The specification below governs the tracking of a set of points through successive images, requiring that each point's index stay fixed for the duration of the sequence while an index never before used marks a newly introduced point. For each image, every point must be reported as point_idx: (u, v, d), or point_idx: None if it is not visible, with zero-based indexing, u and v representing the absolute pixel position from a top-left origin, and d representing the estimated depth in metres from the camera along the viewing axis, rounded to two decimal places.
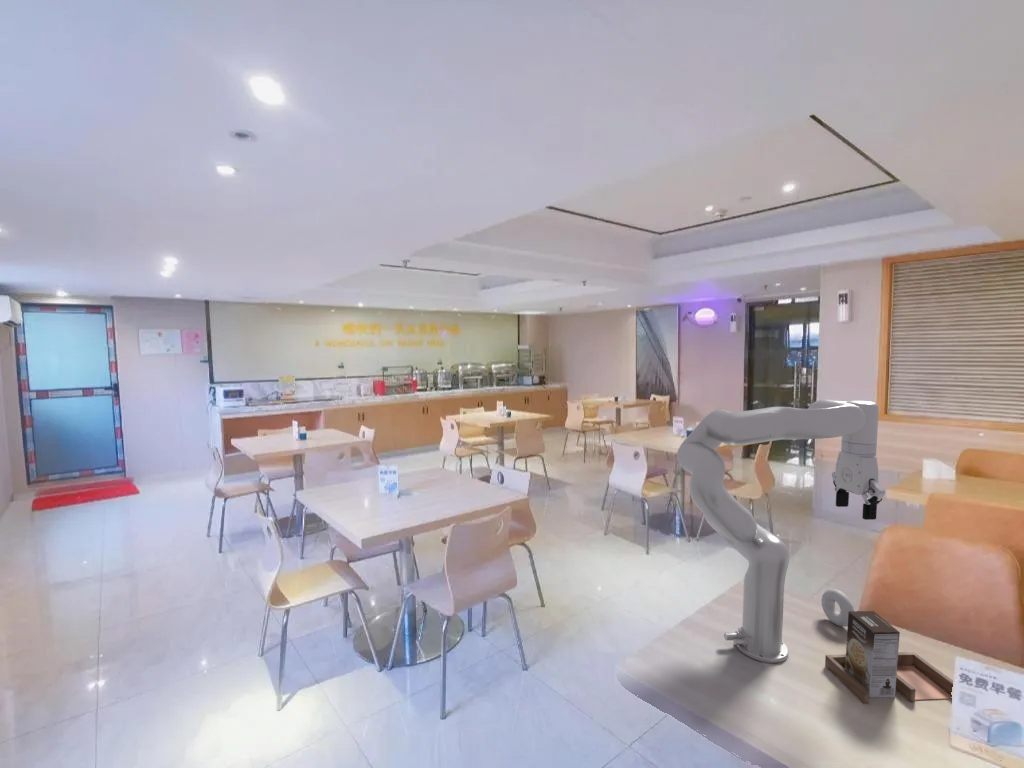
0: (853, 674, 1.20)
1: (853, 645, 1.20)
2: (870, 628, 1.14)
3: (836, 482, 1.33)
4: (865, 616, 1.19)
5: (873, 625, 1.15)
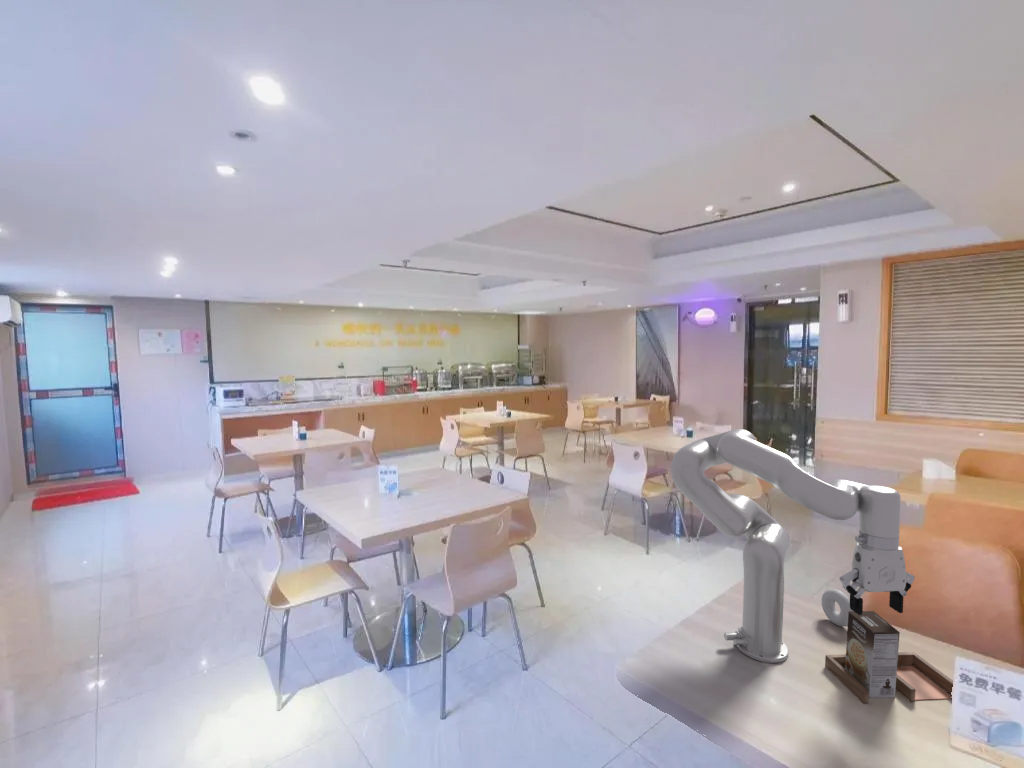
0: (853, 674, 1.20)
1: (853, 645, 1.20)
2: (870, 628, 1.14)
3: (870, 588, 1.13)
4: (865, 616, 1.19)
5: (872, 625, 1.15)
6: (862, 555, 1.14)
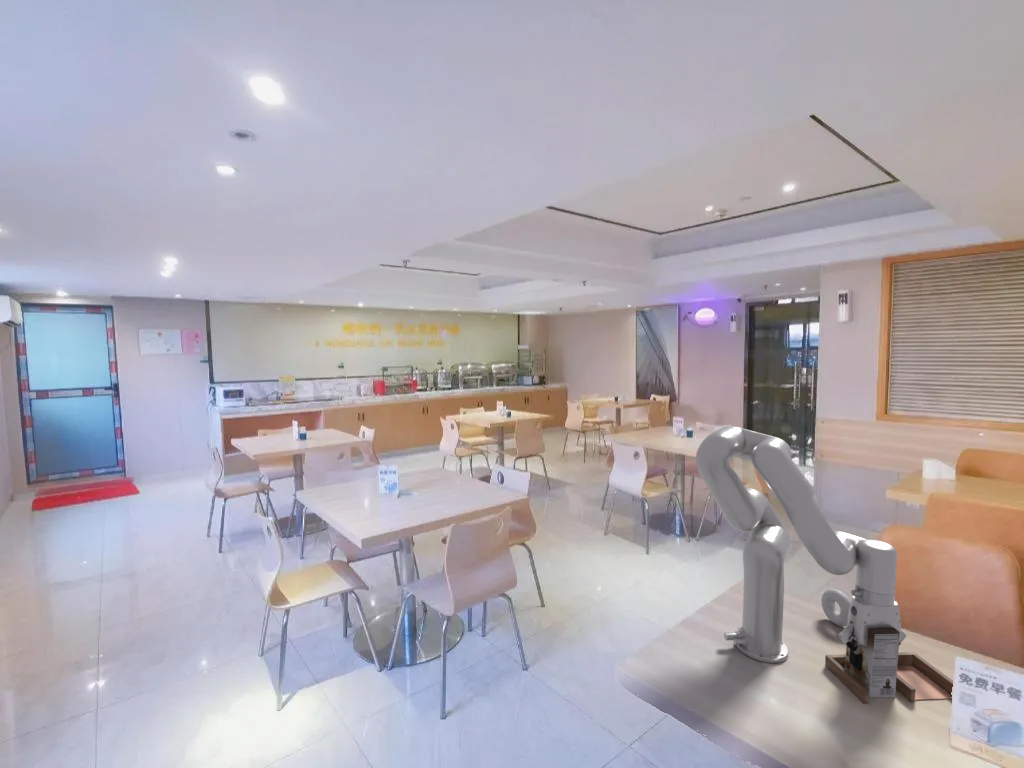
0: (853, 674, 1.20)
1: None
2: (870, 628, 1.14)
3: (865, 642, 1.15)
4: None
5: None
6: (858, 609, 1.15)
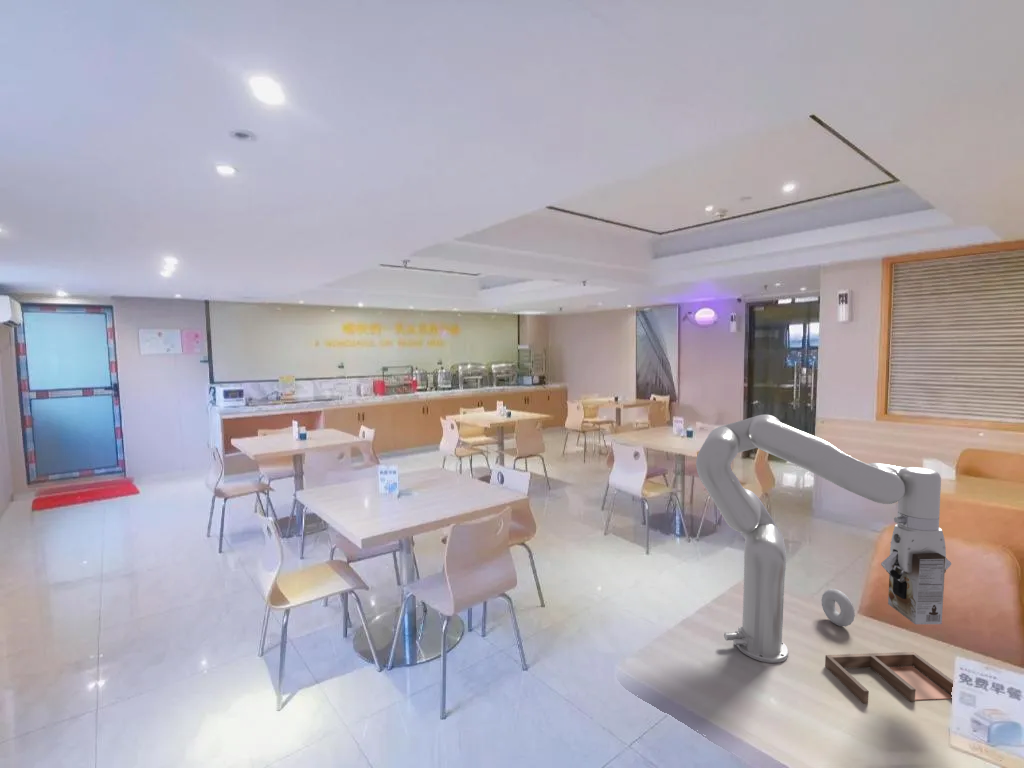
0: (897, 604, 1.18)
1: None
2: (915, 554, 1.13)
3: (910, 569, 1.13)
4: None
5: None
6: (901, 536, 1.14)
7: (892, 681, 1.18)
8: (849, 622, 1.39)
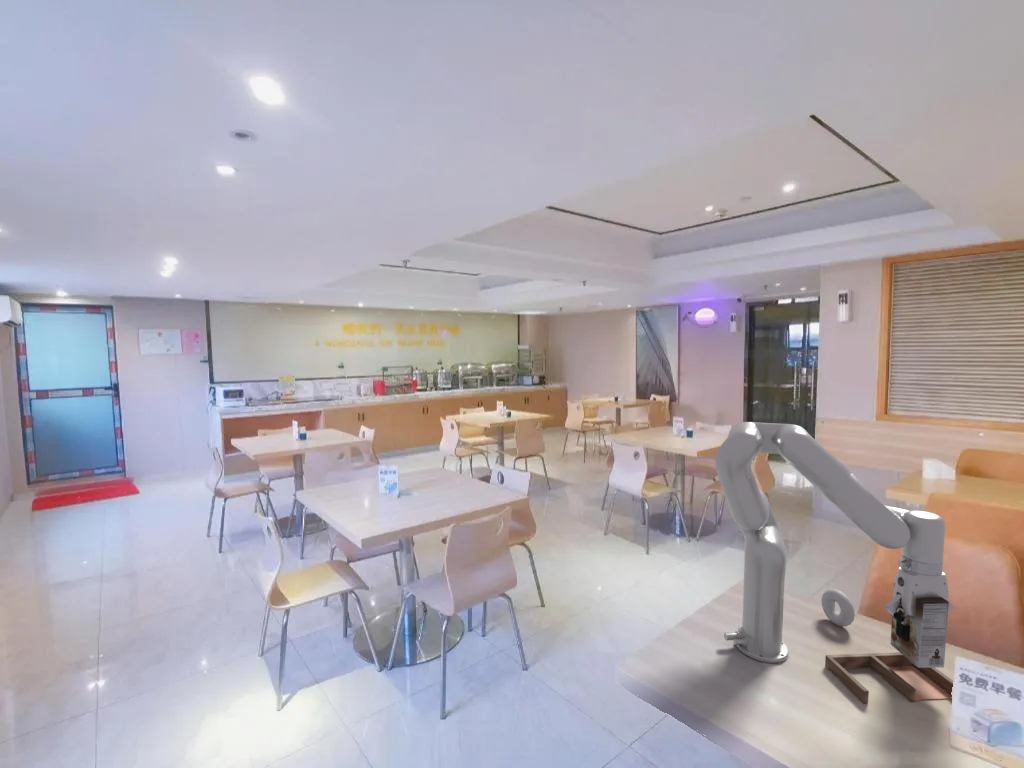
0: (900, 646, 1.19)
1: None
2: (918, 598, 1.14)
3: (913, 612, 1.14)
4: None
5: None
6: (905, 580, 1.15)
7: (892, 681, 1.18)
8: (849, 622, 1.39)
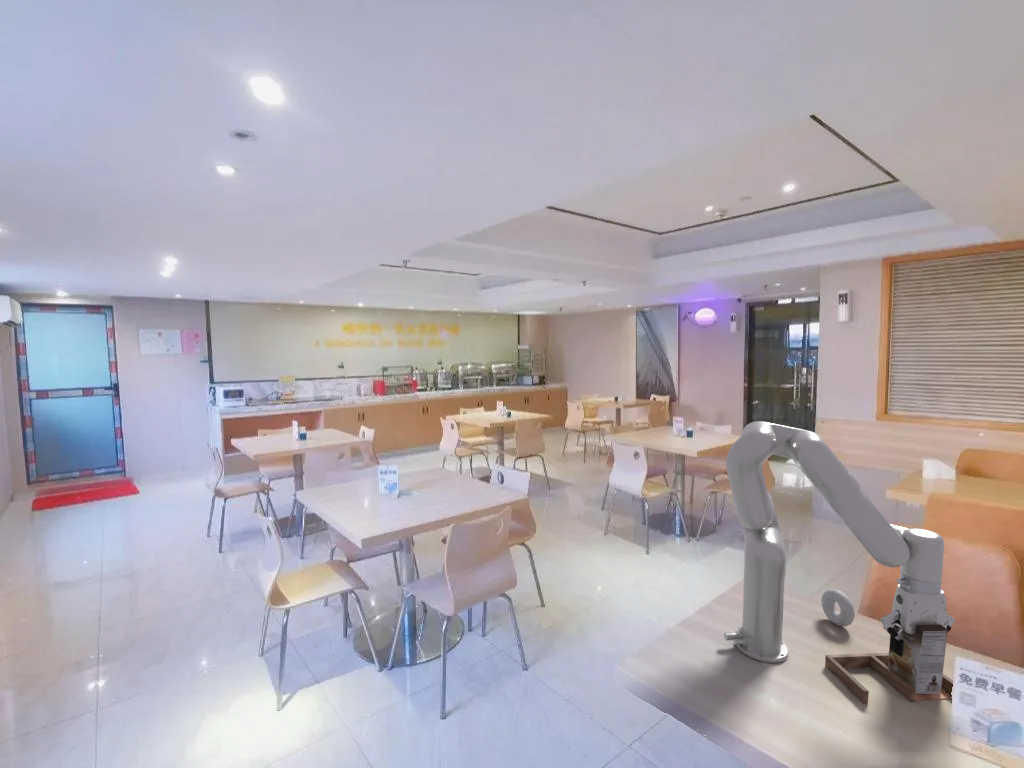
0: (897, 671, 1.20)
1: None
2: (918, 625, 1.15)
3: (912, 630, 1.15)
4: None
5: None
6: (904, 598, 1.16)
7: (892, 681, 1.18)
8: (849, 622, 1.39)
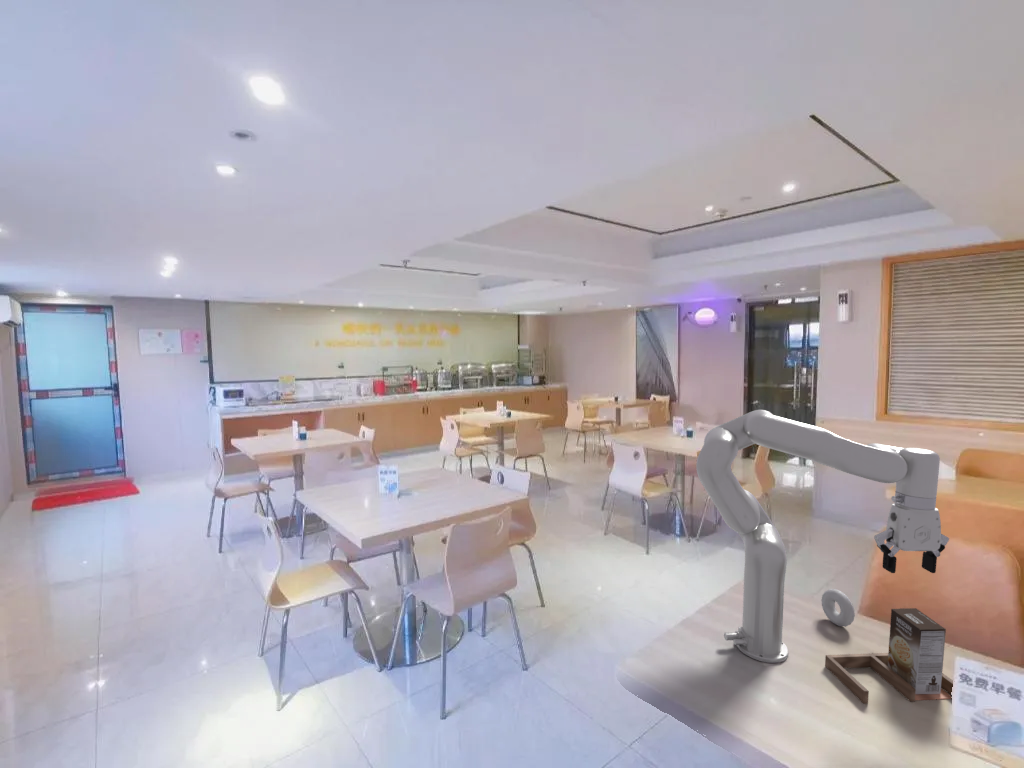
0: (897, 671, 1.20)
1: (896, 642, 1.20)
2: (916, 625, 1.15)
3: (905, 546, 1.15)
4: (908, 613, 1.20)
5: (918, 622, 1.16)
6: (898, 514, 1.16)
7: (892, 681, 1.18)
8: (849, 622, 1.39)
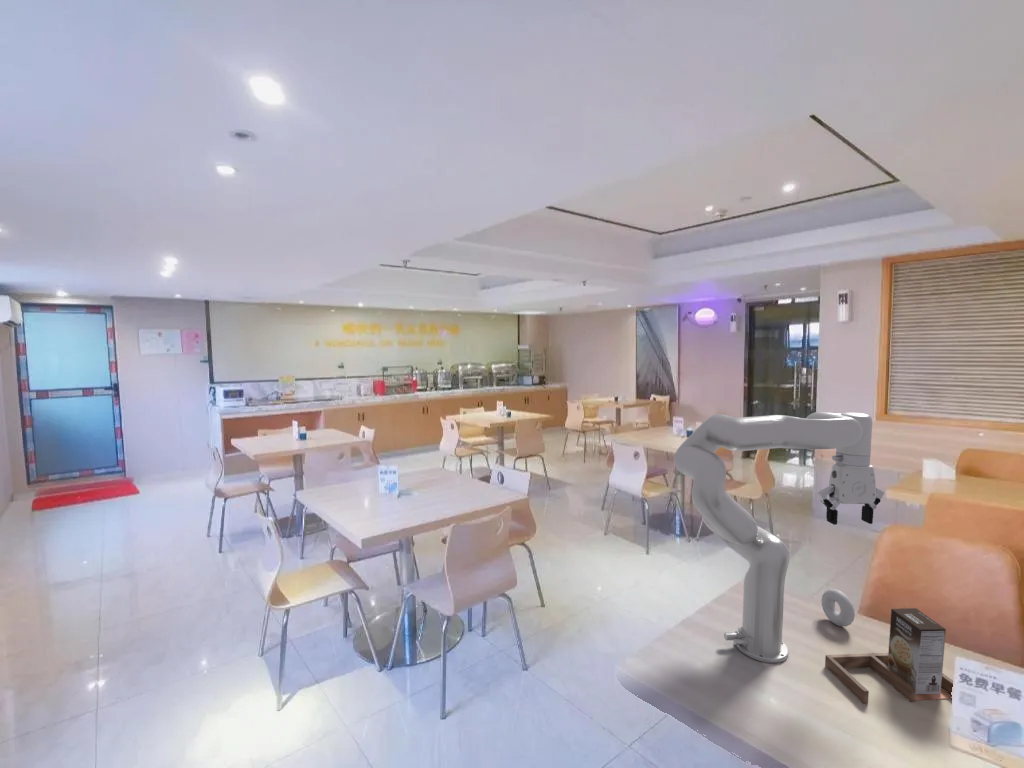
0: (897, 671, 1.20)
1: (896, 642, 1.20)
2: (916, 625, 1.15)
3: (844, 500, 1.29)
4: (908, 613, 1.20)
5: (918, 622, 1.16)
6: (838, 472, 1.30)
7: (892, 681, 1.18)
8: (849, 622, 1.39)
